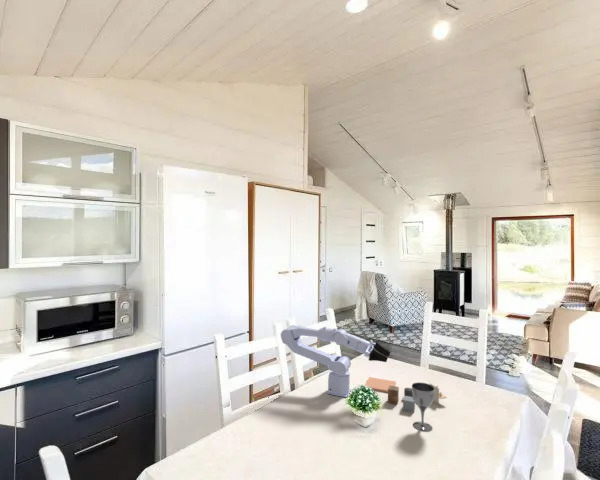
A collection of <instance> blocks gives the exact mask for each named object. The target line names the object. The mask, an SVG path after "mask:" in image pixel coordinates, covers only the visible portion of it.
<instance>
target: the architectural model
mask: <svg viewBox="0 0 600 480" xmlns="http://www.w3.org/2000/svg"><path fill="white" fill-rule="evenodd" d="M429 385H431V386H433V387H434V398H433V403H435V404H437V405H439V403H440V400H445V399H447V398H448V397H447V396H446V395H444V394H442V392H440V390H441V389H440V388H439V385H434V384H433V383H429Z"/></svg>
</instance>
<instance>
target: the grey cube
mask: <svg viewBox="0 0 600 480" xmlns="http://www.w3.org/2000/svg"><path fill="white" fill-rule="evenodd" d="M415 409H416V403H415V402H414V400H413V397H409V396H403V399H402V411H404V412H409V413H415Z"/></svg>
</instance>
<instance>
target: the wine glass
mask: <svg viewBox="0 0 600 480" xmlns="http://www.w3.org/2000/svg"><path fill="white" fill-rule="evenodd" d="M411 388H412V396H413V400H414V402H415V406H417V407H418V409H419V410H420V417H421V418H420V419H421V421H419V420H418V421H414V422H413V423H412V427H413V429H415V430H417V431H420V432H426V433H427V432H431V431H433V430H434V429H433V428H434V427H433V426H432V424H430V423H428V422H426V421H424V419H425V418H424V417H425V413H426V410H427V409H428V408H430V406H431V405H432V404H433V403H434V401H433V398H434V387H433V386H431V385H430V383H425V382H413V383H412V385H411Z"/></svg>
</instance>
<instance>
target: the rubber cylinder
mask: <svg viewBox="0 0 600 480" xmlns="http://www.w3.org/2000/svg"><path fill="white" fill-rule="evenodd" d="M403 391H404V392H403V393H404V394H403V395H404V396H409V397H413V396H412V387H405V388H404V390H403ZM404 396H403V397H404Z"/></svg>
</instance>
